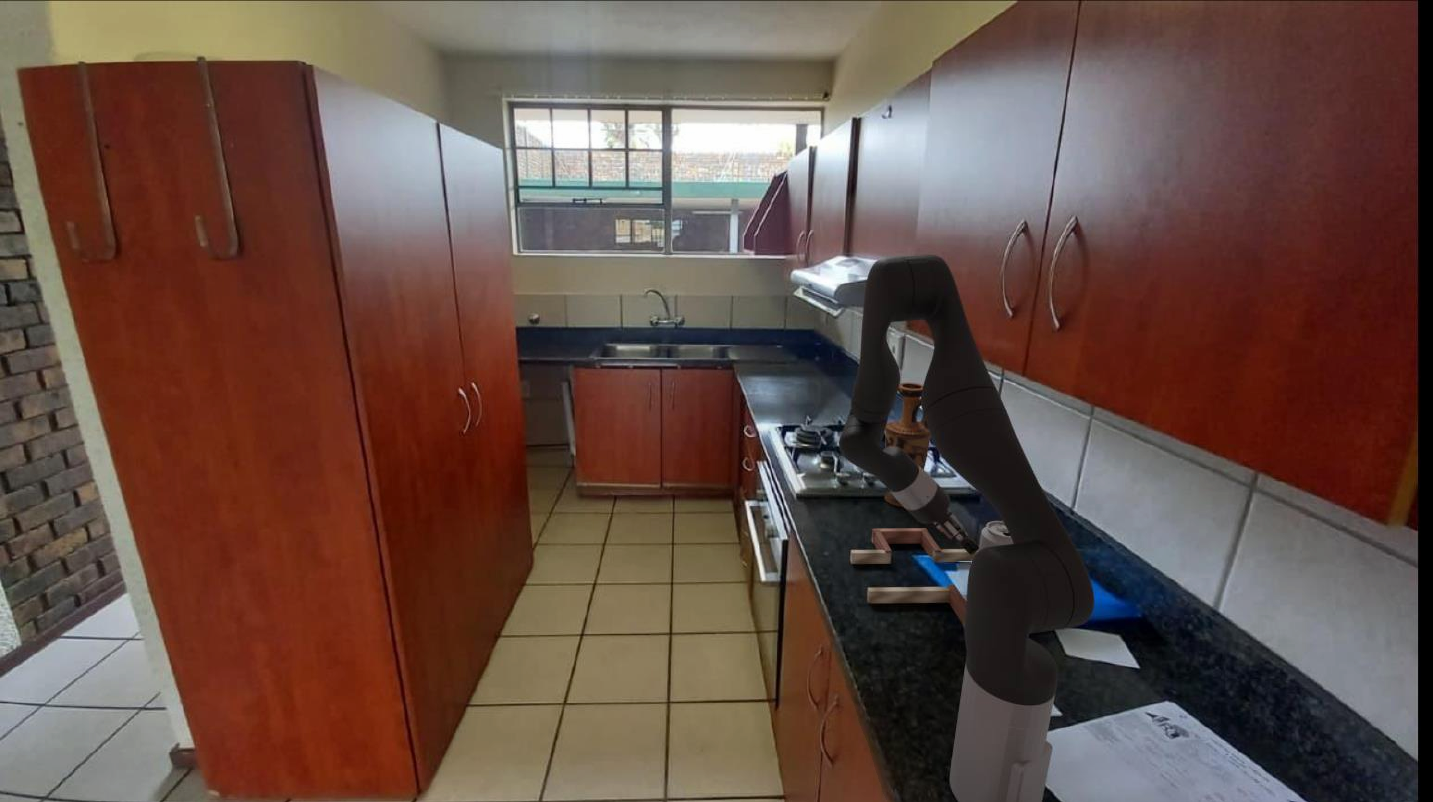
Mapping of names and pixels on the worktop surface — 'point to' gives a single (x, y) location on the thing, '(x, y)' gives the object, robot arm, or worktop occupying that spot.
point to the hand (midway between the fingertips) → (973, 549)
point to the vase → (909, 430)
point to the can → (994, 535)
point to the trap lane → (912, 593)
